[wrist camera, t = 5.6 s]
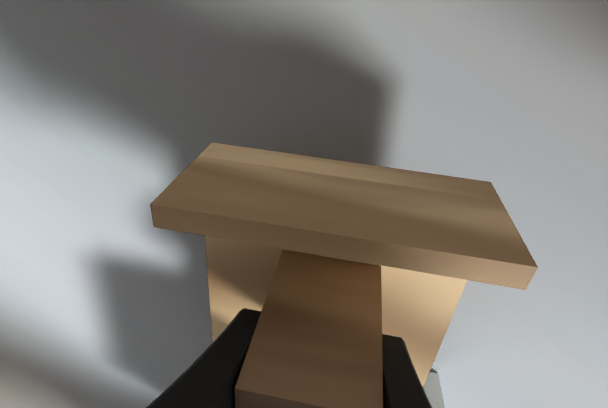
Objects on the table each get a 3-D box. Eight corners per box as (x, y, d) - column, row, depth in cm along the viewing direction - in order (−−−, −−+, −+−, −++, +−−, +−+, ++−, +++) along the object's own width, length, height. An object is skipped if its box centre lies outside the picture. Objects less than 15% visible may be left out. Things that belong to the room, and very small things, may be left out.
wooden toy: (406, 400, 16) (418, 579, 11) (223, 363, 17) (162, 516, 12) (490, 182, 10) (585, 354, 6) (212, 142, 11) (90, 264, 6)
